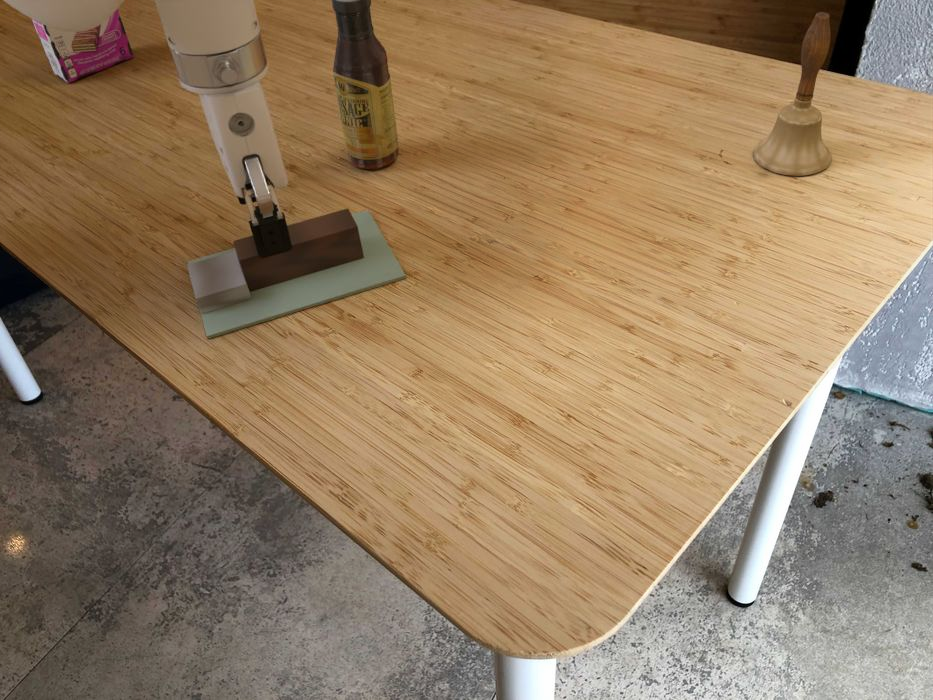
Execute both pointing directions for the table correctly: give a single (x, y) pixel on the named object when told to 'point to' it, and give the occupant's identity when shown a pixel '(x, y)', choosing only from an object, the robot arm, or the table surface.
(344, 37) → the sauce bottle
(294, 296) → the mat
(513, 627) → the table surface
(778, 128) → the hand bell
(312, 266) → the dark brown bar
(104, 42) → the candy bar box
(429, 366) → the table surface
